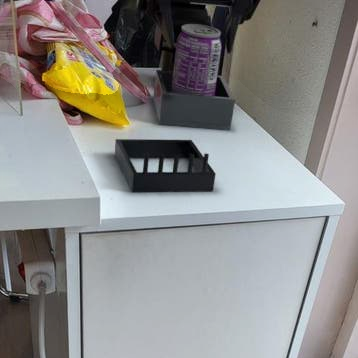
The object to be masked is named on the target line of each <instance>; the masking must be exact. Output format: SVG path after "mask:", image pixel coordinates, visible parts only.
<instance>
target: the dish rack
mask: <svg viewBox="0 0 358 358" xmlns="http://www.w3.org/2000/svg"><path fill="white" fill-rule="evenodd" d="M209 157H210V154H209V153H204V154H202V152H201V151H200V150H199V148H198V146H197V145H196V144H195V143H194V141H193V140H192V139H149V138H148V139H143V138H142V139H140V138H138V139H137V138H135V139H133V138H127V139H126V138H116V139H115V143H114V158H115V160H116V162H117V164H118V166H119V168H120V170H121V172H122V175H123V177H124V178H125V181H126V183H127V185H128V187H129V189H130V190H131V192H132V193H171V192H172V193H173V192H175V193H179V192H180V193H181V192H186V193H187V192H213V191H214V187H215V181H216V175H217V174H216V172H215V170H214V169H213V168H212V166H211V165H210V164H209ZM131 159H143V166H142V171H137V169H136V168H135V166H134V163H133V162H132V160H131ZM150 159H158V167H157V171H148V170H149V160H150ZM165 159H173V165H172V166H173V167H172V171H164V161H165ZM180 159H187V161H188V162H187V163H188V165H187V170H186V171H178V169H179V161H180ZM193 170H194V171H193Z"/></svg>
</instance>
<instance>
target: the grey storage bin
mask: <svg viewBox="0 0 358 358" xmlns="http://www.w3.org/2000/svg"><path fill="white" fill-rule="evenodd" d="M173 72H174V71H163V70H161V69H155V74H154V76H155V77H154V88H153V96H152V97H153V98H152V99H153V103H154V108H155V112H156V115H157V121H158V124H159V126H160V125H162V126H174V127H185V128H186V127H188V128H197V129H200V128H201V129H210V130H211V129H212V130H221V131H222V130H223V131H224V130H225V131H230V130H231V127H232V122H233V116H234V110H235V103H236V99H235V97H234V95H233V92H232V91H231V89H230V87H229V85H228V82H227V81H226V79H225V77H224V76H223V75H217V82H216V89H215V96H205V95H193V94H182V93H171V91H172V81H173Z"/></svg>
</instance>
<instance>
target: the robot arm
mask: <svg viewBox="0 0 358 358" xmlns="http://www.w3.org/2000/svg"><path fill="white" fill-rule="evenodd" d="M260 3H261V0H136V10H138V11H139V12H144V13H145V15H146V17H150V18H152V20H153V21H154V23H155V24H156V26H155V29H154V45H155V47H156V48H157V51H158V52H162V57H161V58H162V61H161V69H160V70H163V71H174V63H175V54H176V45H177V38H178V36H179V35H180V33H181V31H182V30H181V27H182V26H183V25H186V24H199V25H206V26H210V27H213V28H214V25H213V23H212V17H211V15H210V14H209V11H208V9H207V6H212V7H223V8H225V9H226V16H227V17H226V18H225V22H224V23H225V24H224V25H225V48H226V52H227V53H226V54H231V52H232V50H233V47H234V43H235V40H236V36H237V31H238V29H239V26H241V25H243V24H245V22H247V21H250V20H252V17H253V15H254V13H255V12H256V10H257V8H258V6H259V4H260Z"/></svg>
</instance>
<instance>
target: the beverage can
mask: <svg viewBox="0 0 358 358" xmlns="http://www.w3.org/2000/svg"><path fill="white" fill-rule="evenodd" d="M181 30H182V31H181V33H180V35H179V36H178V38H177V45H176V54H175V63H174V72H173V81H172V91H171V93H182V94H193V95H205V96H215V89H216V82H217V76H219V75H218V74H219V68H220V62H221V54H222V47H223V45H222V41H221V34H222V32H221V30H220V29H218V28H215V27H214V26H213V27H210V26H206V25H199V24H186V25H183V26H182V27H181Z"/></svg>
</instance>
